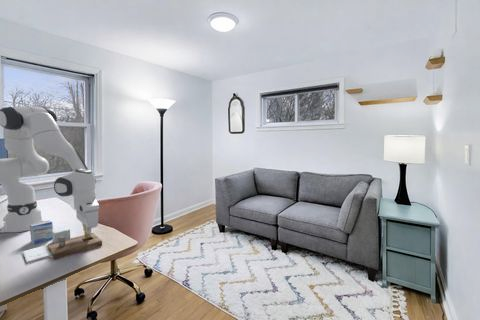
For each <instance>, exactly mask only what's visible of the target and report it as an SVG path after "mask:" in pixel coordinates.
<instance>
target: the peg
mask: <svg viewBox="0 0 480 320" xmlns="http://www.w3.org/2000/svg"><path fill="white" fill-rule="evenodd" d="M83 232H84V235H85V237H90V236H91V233H92V232H91V233H90V234H87V233H86V226H85V225H84V230H83Z"/></svg>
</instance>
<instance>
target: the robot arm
mask: <svg viewBox="0 0 480 320" xmlns="http://www.w3.org/2000/svg"><path fill="white" fill-rule="evenodd" d="M57 116H58V115H57V114H56V112H55V111H54V110H53V108H51V107H48V106H47V107H46V106H34V105H33V106H31V105H30V106H29V105H27V106H13V107H12V106H6V107H1V108H0V126H1V127H3V128H4V148H5V149H6V150H7V152H8V153H10V154H13V155H17V156H19V157H10V158H8V157H7V158H0V185H1V186H2V187H3V188H4V189H5V193H6V196H7V197H6V198H7V203H8V204H7V206H6V209H7V214H5V215H4V216H3V222H4V223H3V226H2V228H1V229H0V233H1V234H2V233H19V232H20V233H22V232H26V231H30V225H31V224H35V223H40V222H44V221H45V220H44V219H42V218H43V217H42V211H41V209H39V208H38V203H37V200H36V191H35V190H36V189H35V188H34V186H33V185H31V184H27V183H24V182H20V180H19V179H24V178H32V177H39V176H42V175H43V176H44V175H45V174H47V173H48V171H49V170H50V163H49V161H48V160H47V159H46V157H43V156H41V155H40V154H38V152H37V151H36V149H35V146H36V147H37V149H38V150H39V151H41V152H42V153H45V154H49V155H52V156H57V157H60V158H62V159H63V160H65V161H66V162H67V163H68V164H69V167H70V168H71V169H72V171H71V173H68V174H65V175H63V176H60V177H57V178H56V179H55V180H54V183H53V189H54V192H55V194H57V195H58V196H60V197H70V196H73V207H74V210H76V212H75V213H76V219H77V220H78V221H79V222H81V224H82V228H83V231H84V225H85V226H86V233H87V234H90V233H92V229H94V228H96V227H98V225H99V209H100V205H99V203H98V199H97V194H96V187H97V186H96V183H97V181H96V180H97V179H96V176H95V174H94V172H93V169H89V168H88V166H87V165H86V164H85V162H84V161H83V159H82V157H81V155H80V153H79V152H78V151H77V149H76V148H75V147H74V146H73V144H71V143H69V142H68V140H67V139H66V138H65V137H64V135H63V133H62V131H61V129H60V127H59V125H58V124H57V122H58V118H57Z"/></svg>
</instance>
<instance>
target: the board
mask: <svg viewBox="0 0 480 320" xmlns="http://www.w3.org/2000/svg"><path fill="white" fill-rule="evenodd" d="M101 246H103V241H102V238H100V237H98V236H97V235H96V234H95V233H94V232H91V236H90V237H85V234H84V235H79V236H75V237H70V239H67V240H65V236H61V237H59V238H58V242H55V243H53V242H52V243H48V244H47V247H48V249H49V250H50V252H51V254H52V258H53V260H59V259H61V258H66V257H69V256H71V255H74V254H78V253H81V252H85V251H88V250H91V249H95V248H98V247H101Z"/></svg>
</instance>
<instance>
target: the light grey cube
mask: <svg viewBox="0 0 480 320" xmlns="http://www.w3.org/2000/svg"><path fill="white" fill-rule="evenodd" d="M61 236H65V240H67V239H71V229H70V228H69V227H68V226H61V227H59V228H58V227H57V228H53V230H52V239H51V241H52V243H55V242H58V238H59V237H61Z"/></svg>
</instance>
